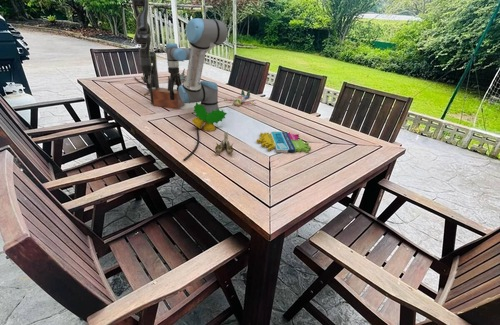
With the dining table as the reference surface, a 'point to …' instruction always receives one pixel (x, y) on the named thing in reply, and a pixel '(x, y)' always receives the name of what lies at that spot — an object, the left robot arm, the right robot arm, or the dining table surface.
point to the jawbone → (224, 145)
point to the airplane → (181, 77)
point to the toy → (241, 99)
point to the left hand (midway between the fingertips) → (148, 88)
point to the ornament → (207, 117)
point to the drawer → (150, 96)
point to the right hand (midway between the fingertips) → (175, 97)
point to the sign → (283, 142)
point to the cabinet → (166, 98)
